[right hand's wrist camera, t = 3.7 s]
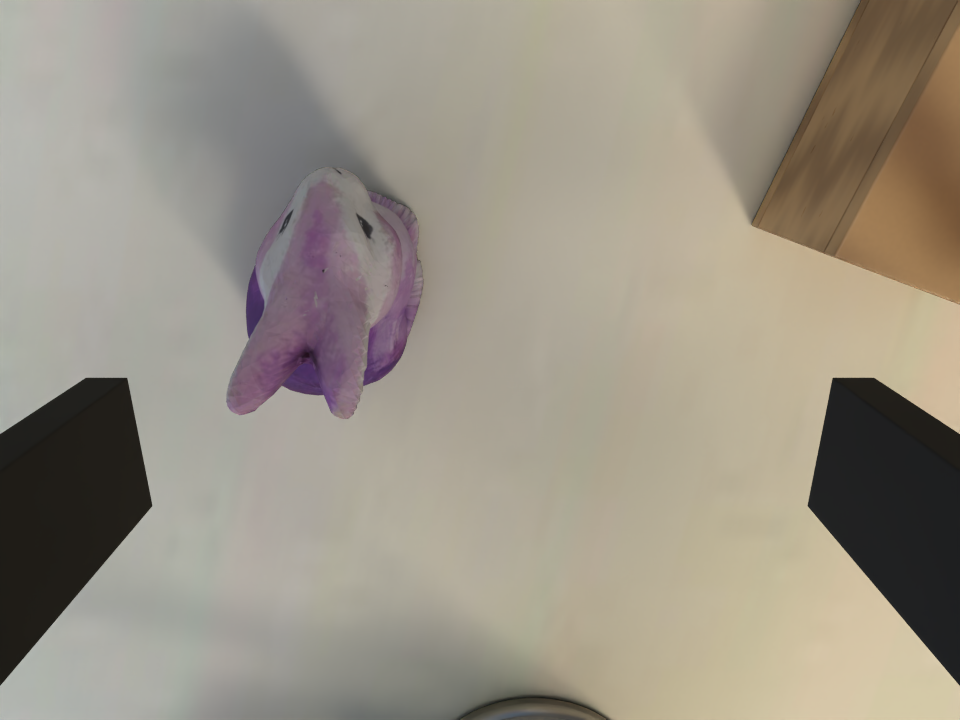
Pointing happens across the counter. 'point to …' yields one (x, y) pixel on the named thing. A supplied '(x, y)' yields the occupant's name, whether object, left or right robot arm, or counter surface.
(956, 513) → the right robot arm
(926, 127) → the cabinet
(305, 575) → the counter surface
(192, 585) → the counter surface
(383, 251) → the figurine
